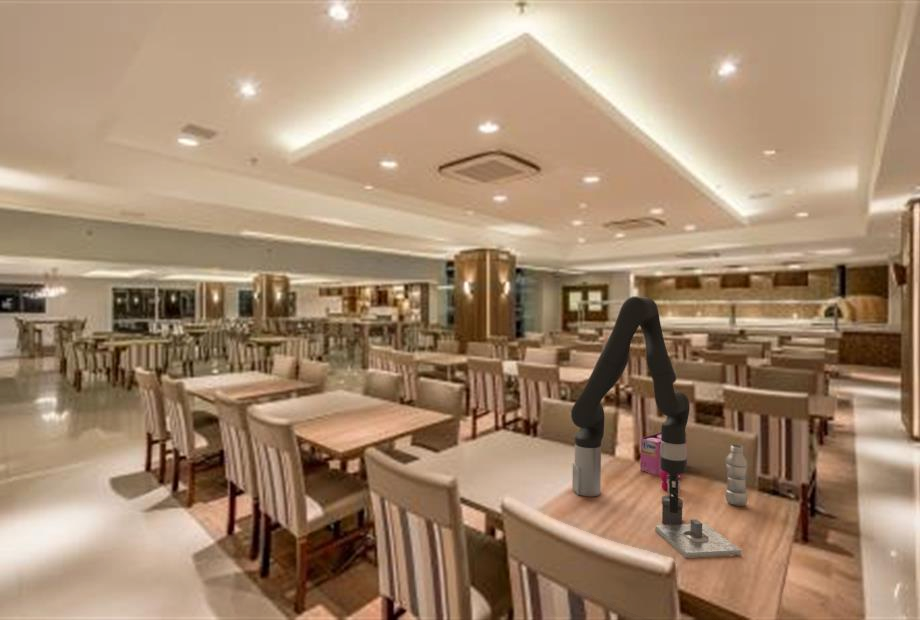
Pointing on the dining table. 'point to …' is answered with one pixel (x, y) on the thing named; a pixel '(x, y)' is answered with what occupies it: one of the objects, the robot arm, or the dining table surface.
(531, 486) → the dining table surface
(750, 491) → the dining table surface
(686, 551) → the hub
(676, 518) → the knob
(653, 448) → the gum box
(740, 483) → the plastic bottle
